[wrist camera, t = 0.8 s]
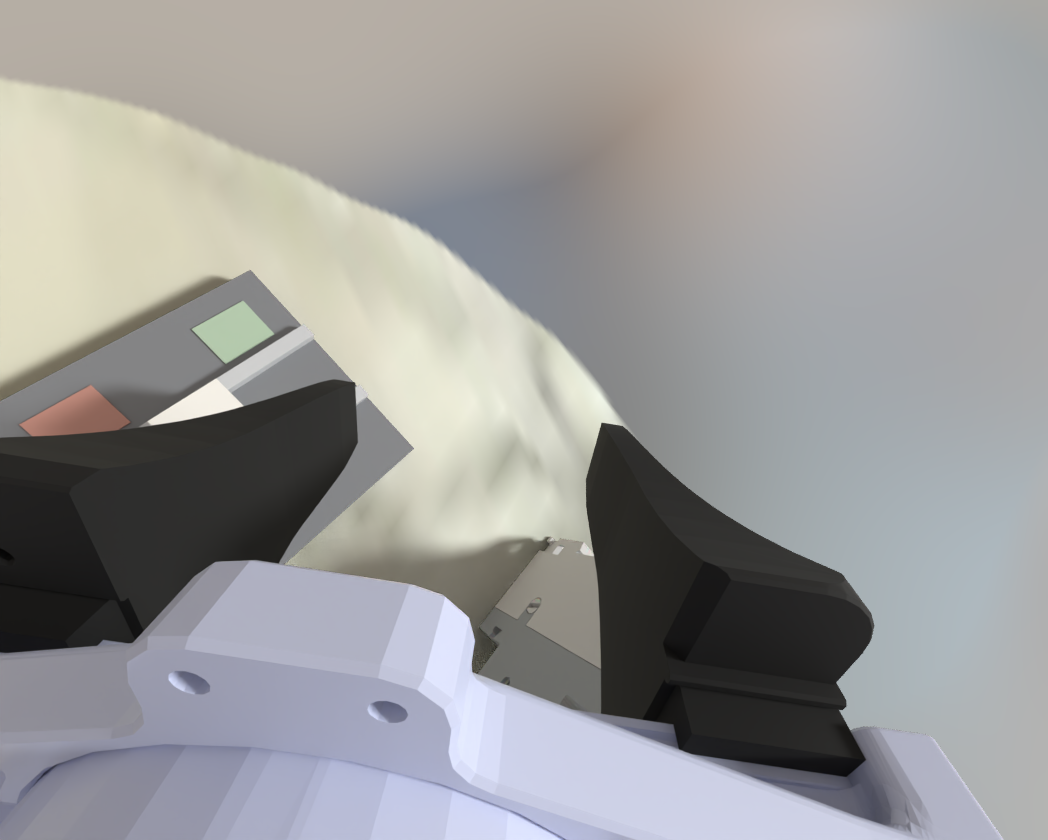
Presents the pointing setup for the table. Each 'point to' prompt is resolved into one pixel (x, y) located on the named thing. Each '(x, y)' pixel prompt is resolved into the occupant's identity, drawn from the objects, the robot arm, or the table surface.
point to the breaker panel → (192, 362)
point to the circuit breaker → (550, 629)
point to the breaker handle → (199, 404)
